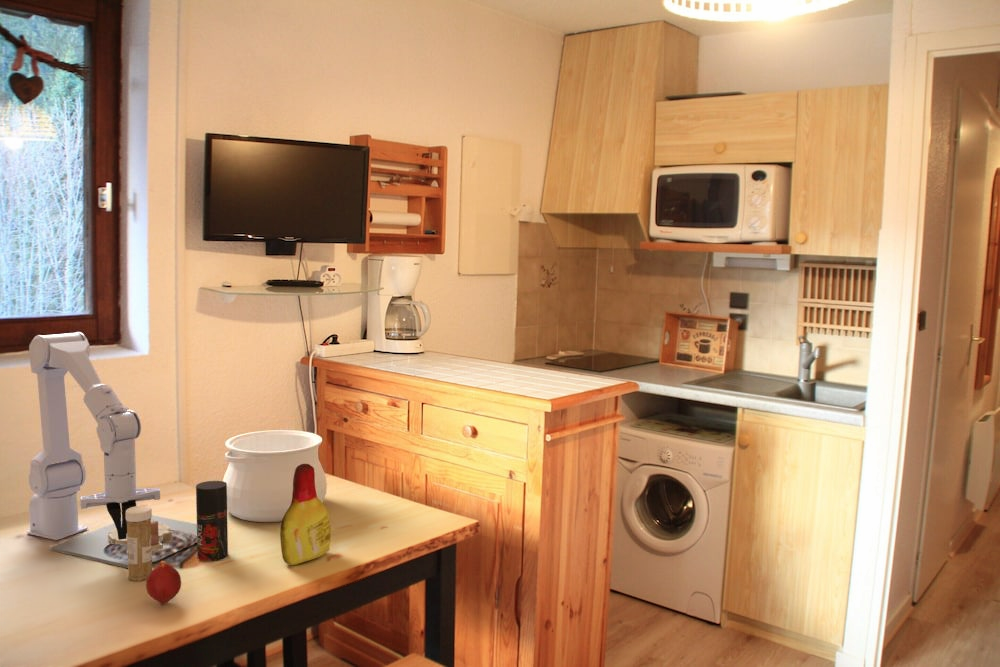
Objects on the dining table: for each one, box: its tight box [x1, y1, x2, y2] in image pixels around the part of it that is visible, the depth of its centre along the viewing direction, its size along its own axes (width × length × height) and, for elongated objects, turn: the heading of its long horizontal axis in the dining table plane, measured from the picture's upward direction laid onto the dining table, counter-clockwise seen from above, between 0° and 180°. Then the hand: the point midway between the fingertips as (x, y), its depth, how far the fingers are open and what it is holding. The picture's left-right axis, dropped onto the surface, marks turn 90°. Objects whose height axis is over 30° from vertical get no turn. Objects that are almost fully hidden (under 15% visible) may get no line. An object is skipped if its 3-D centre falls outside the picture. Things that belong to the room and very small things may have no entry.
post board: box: [49, 514, 197, 569], centre depth 179 cm, size 24×24×5 cm
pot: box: [222, 429, 328, 523], centre depth 201 cm, size 26×24×17 cm
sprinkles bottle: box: [126, 505, 154, 582], centre depth 160 cm, size 5×5×14 cm
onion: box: [145, 560, 182, 605], centre depth 148 cm, size 6×6×8 cm
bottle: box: [279, 464, 332, 566], centre depth 169 cm, size 12×6×20 cm, turn 143°
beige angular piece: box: [108, 521, 170, 551], centre depth 177 cm, size 17×12×6 cm
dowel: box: [163, 531, 172, 543], centre depth 175 cm, size 2×2×3 cm
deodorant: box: [195, 480, 229, 563], centre depth 170 cm, size 6×6×15 cm
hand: (122, 537), depth 169 cm, fingers closed
